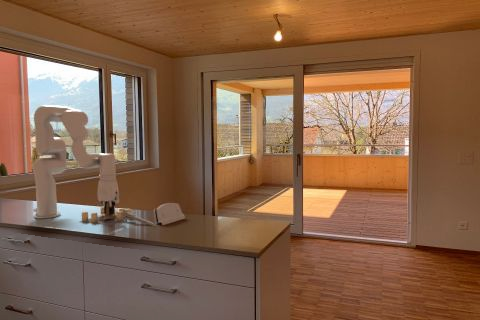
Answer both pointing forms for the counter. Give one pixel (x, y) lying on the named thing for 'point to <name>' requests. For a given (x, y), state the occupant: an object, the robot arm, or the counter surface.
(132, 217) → the caliper
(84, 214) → the spacer jig
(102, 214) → the nut
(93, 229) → the counter surface
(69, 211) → the counter surface
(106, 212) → the brown inverted t block
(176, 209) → the beige flat slab
